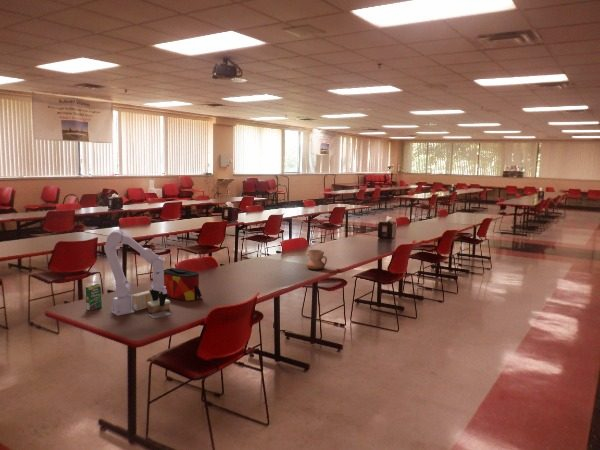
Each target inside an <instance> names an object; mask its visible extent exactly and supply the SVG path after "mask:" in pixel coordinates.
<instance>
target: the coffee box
mask: <svg viewBox="0 0 600 450" xmlns="http://www.w3.org/2000/svg"><path fill="white" fill-rule="evenodd" d="M101 285H102V284H100V283H95V284H93V285H88V286H86V287H85V286H84V287H85V288H84V290H85V303H86V304H85V305H86V311H88V310H89V312H91V311H94V310H97V309H100V308H102V306H103V304H102V302H103V301H102V289H101V288H102V286H101ZM93 309H94V310H93ZM90 310H91V311H90Z"/></svg>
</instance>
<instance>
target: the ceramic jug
mask: <svg viewBox="0 0 600 450" xmlns="http://www.w3.org/2000/svg"><path fill="white" fill-rule="evenodd" d="M324 252H325V251H324V250H321V249H309V250H307V253H306V254H305V255H306V256H308V257H309V259H310V260H309V261H307V262H306V264H305V265H306V268H308V269H309V270H314V271H318V270H320V271H321V270H322V269H323V270H324V269H325V267H326V265H327V262H328V258H327V256H326V255H324ZM322 259H324V262H323V260H322Z"/></svg>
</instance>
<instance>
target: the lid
mask: <svg viewBox="0 0 600 450" xmlns="http://www.w3.org/2000/svg"><path fill="white" fill-rule="evenodd" d="M168 303H169V304H171V300H170V299H167V298H166V300H165V304H168ZM147 304H148V305H150V306H152V307H153V306H158V305H160V303H159V299H158V300H156V301H151V302H147Z"/></svg>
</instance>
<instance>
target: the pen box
mask: <svg viewBox="0 0 600 450" xmlns="http://www.w3.org/2000/svg"><path fill="white" fill-rule="evenodd" d="M147 311H148V313H149V314H153V313H158V312H163V311H167V312H168V311H170V303H168V304H164V306H160V305H158V306H153V307H152V306H150V305H148V310H147Z"/></svg>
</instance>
